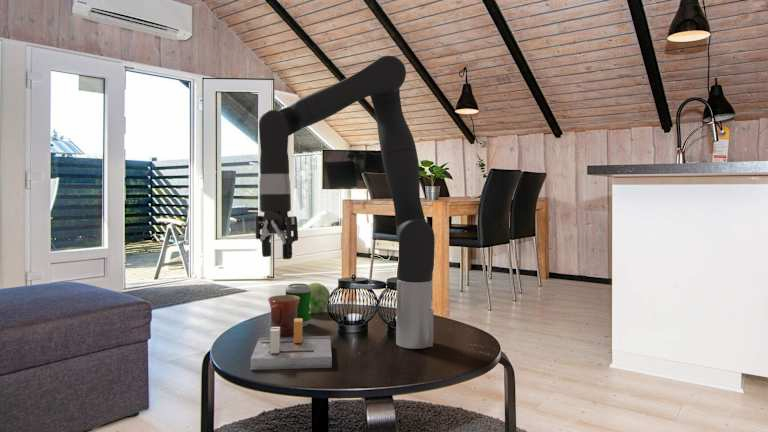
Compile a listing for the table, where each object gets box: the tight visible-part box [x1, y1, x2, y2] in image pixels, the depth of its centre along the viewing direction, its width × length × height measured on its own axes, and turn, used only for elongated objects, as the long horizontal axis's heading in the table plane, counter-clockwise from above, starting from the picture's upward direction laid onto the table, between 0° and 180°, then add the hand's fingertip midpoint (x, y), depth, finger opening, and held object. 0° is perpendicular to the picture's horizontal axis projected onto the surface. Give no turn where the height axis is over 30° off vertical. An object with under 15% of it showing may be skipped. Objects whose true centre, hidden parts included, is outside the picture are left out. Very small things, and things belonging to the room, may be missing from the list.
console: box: [250, 335, 333, 371], centre depth 125 cm, size 18×17×3 cm
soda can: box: [285, 283, 312, 327], centre depth 155 cm, size 8×8×12 cm
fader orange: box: [293, 318, 304, 343], centre depth 129 cm, size 2×4×5 cm, turn 7°
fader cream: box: [269, 327, 280, 353], centre depth 120 cm, size 2×4×5 cm, turn 7°
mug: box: [267, 294, 300, 337], centre depth 143 cm, size 12×9×10 cm
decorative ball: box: [307, 282, 331, 314], centre depth 171 cm, size 10×10×10 cm
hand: (276, 257), depth 129 cm, fingers open, 8 cm apart
